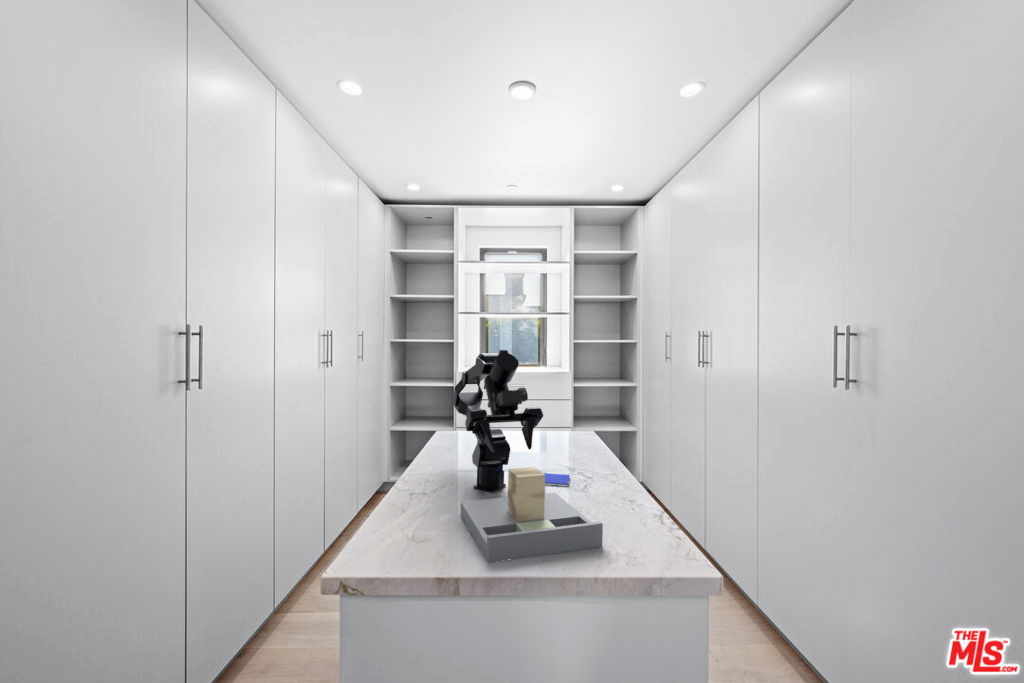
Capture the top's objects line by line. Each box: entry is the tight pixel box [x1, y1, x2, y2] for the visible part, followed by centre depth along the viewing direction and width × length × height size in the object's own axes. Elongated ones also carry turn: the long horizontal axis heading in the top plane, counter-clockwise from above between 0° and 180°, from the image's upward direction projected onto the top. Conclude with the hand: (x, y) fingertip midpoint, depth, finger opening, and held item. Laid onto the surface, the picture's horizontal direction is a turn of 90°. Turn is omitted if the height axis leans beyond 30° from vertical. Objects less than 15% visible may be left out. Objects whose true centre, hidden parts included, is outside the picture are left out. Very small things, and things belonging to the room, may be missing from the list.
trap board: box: [460, 492, 604, 564], centre depth 97 cm, size 23×23×4 cm
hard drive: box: [542, 472, 571, 487], centre depth 131 cm, size 2×8×12 cm
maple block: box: [507, 466, 546, 521], centre depth 98 cm, size 6×6×9 cm
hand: (512, 450), depth 109 cm, fingers open, 9 cm apart
